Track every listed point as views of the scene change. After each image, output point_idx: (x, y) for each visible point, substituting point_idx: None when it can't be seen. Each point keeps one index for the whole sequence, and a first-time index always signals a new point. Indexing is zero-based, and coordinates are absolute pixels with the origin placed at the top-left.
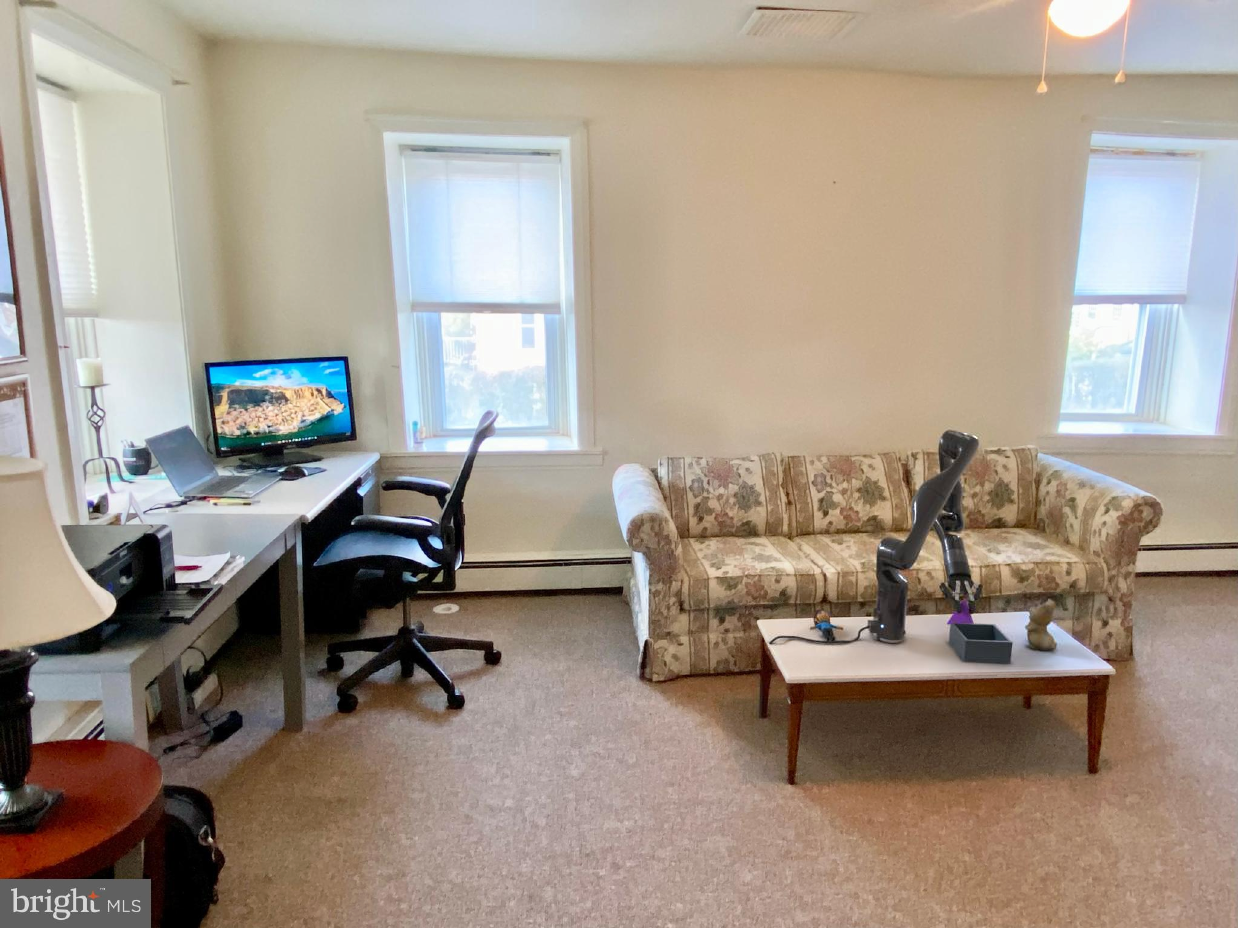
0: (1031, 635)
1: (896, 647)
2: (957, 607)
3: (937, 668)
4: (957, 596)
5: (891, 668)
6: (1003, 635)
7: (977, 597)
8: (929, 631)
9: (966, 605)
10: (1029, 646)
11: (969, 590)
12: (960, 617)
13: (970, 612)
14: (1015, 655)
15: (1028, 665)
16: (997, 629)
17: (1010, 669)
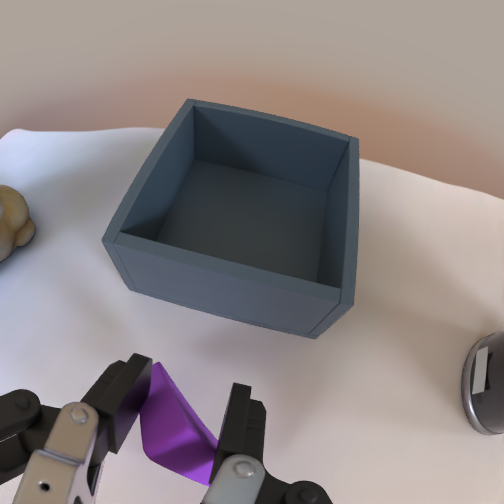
0: (8, 213)
1: (487, 313)
2: (254, 417)
3: (415, 182)
4: (228, 491)
5: (496, 210)
6: (171, 137)
7: (23, 400)
8: (339, 461)
9: (158, 417)
10: (34, 231)
11: (42, 487)
12: (204, 428)
13: (147, 387)
14: None
15: (146, 145)
16: (143, 185)
17: None
